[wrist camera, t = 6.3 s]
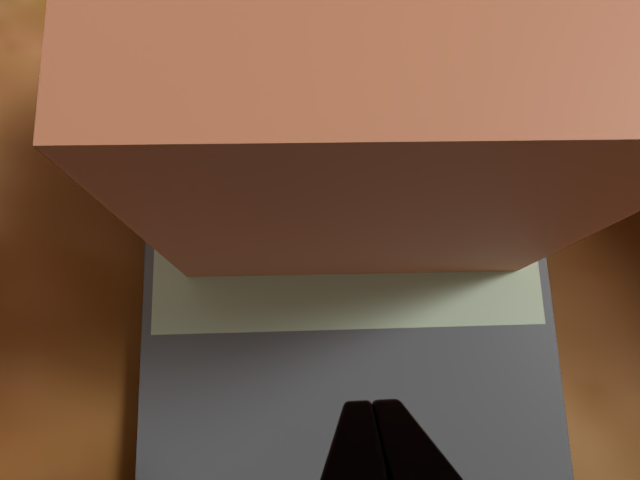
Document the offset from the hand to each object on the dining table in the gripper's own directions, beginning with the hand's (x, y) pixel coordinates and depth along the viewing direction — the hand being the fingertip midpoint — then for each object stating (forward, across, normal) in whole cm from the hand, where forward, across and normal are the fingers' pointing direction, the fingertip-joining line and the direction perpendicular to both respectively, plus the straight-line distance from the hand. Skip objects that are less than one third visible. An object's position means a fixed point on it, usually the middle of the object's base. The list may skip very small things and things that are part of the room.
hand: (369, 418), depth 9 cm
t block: (+9, -1, -1) cm, 9 cm away
